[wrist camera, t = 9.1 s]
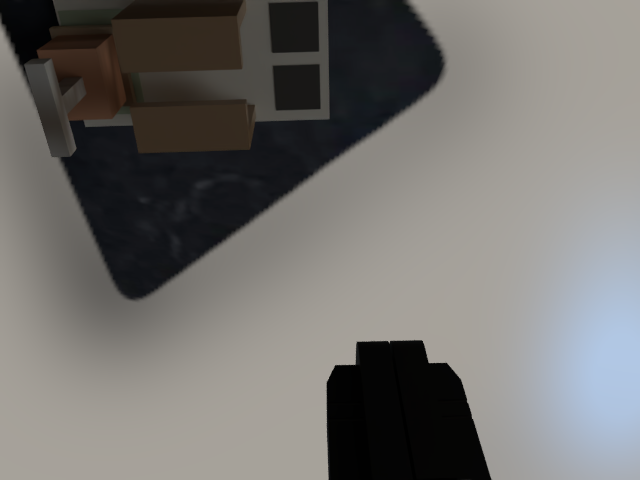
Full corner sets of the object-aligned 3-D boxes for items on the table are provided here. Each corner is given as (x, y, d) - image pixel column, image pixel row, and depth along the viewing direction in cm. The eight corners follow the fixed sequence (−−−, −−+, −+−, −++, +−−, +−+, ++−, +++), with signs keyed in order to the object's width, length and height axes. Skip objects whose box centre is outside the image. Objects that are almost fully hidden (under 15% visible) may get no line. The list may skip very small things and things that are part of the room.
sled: (52, 26, 43) (-9, 65, 34) (120, 24, 43) (76, 62, 34) (73, 104, 46) (22, 158, 38) (136, 102, 46) (99, 155, 38)
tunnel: (58, -8, 43) (13, 15, 36) (326, -16, 43) (331, 6, 37) (91, 120, 49) (56, 160, 42) (328, 112, 49) (332, 151, 42)
